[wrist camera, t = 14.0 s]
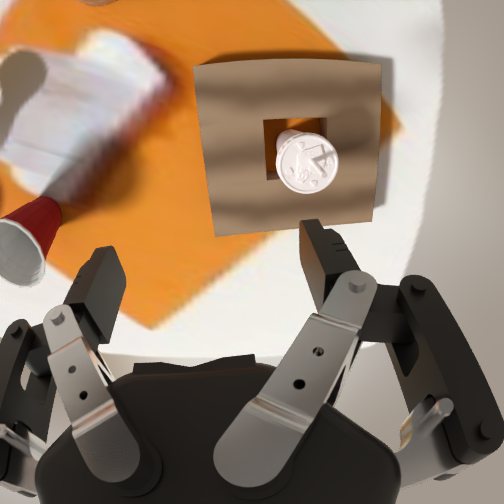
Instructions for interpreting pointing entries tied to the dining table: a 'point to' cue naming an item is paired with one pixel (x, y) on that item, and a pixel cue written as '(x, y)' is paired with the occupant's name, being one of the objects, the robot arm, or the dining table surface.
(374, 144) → the socket board
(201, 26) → the dining table surface
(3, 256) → the plastic cup
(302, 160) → the smoothie
